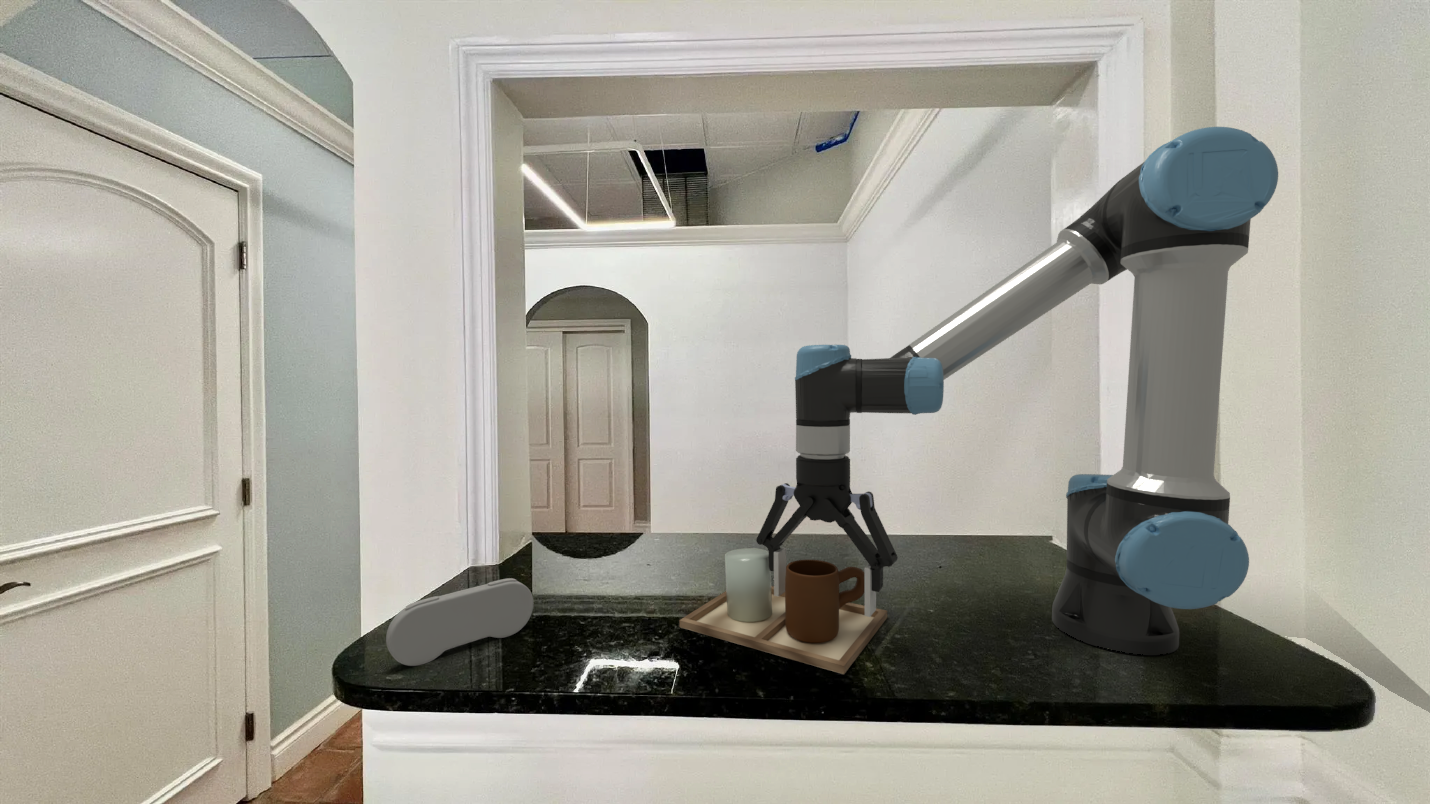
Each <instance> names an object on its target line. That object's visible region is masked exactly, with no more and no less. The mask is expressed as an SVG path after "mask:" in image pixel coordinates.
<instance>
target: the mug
mask: <svg viewBox="0 0 1430 804" xmlns="http://www.w3.org/2000/svg"><path fill="white" fill-rule="evenodd" d="M852 578H856V582H855V585H854V586H853V588H851V589H845V590H842V591H840V585H841V584H842V583H844V582H847V581H848V580H850V579H852ZM864 595H865V570H862V569H861V568H859V567H857V566H846V567H844V568H842V569H841V570H840V569H839V568H838V567H837V566H836V565H835V564H834V563H832V562H828V561H825V560H820V559H798V560H793V561H791V562H789V563H788V564H786V576H785V623H786V630H787V632H788V633H789V635H791V636H792V637H793V638H795V639H797V640H800V641H803V642H808V643H823V642H828V641H830V640H832V639H834V638H835V637H836V636H837V634H838V631H839V609H840V608H841V607H842V606H844V605H845V604H846V603H853V602H856V601H857V600H859V599H860V598H862V596H864Z"/></svg>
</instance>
